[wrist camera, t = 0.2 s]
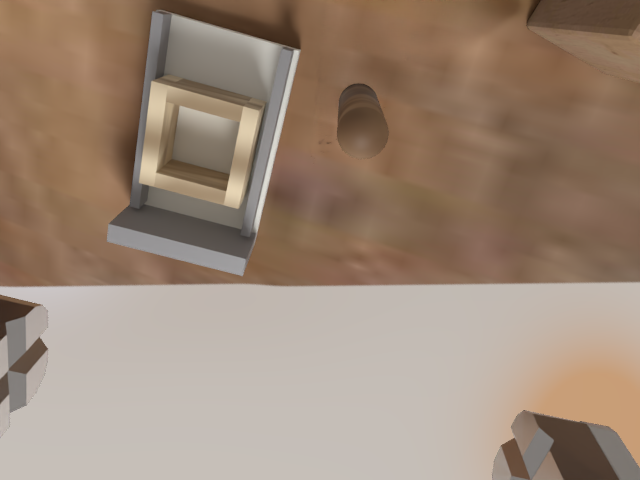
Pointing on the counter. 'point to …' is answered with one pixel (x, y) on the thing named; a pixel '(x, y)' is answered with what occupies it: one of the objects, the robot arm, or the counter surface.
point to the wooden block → (594, 32)
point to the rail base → (207, 143)
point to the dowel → (361, 122)
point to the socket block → (161, 136)
